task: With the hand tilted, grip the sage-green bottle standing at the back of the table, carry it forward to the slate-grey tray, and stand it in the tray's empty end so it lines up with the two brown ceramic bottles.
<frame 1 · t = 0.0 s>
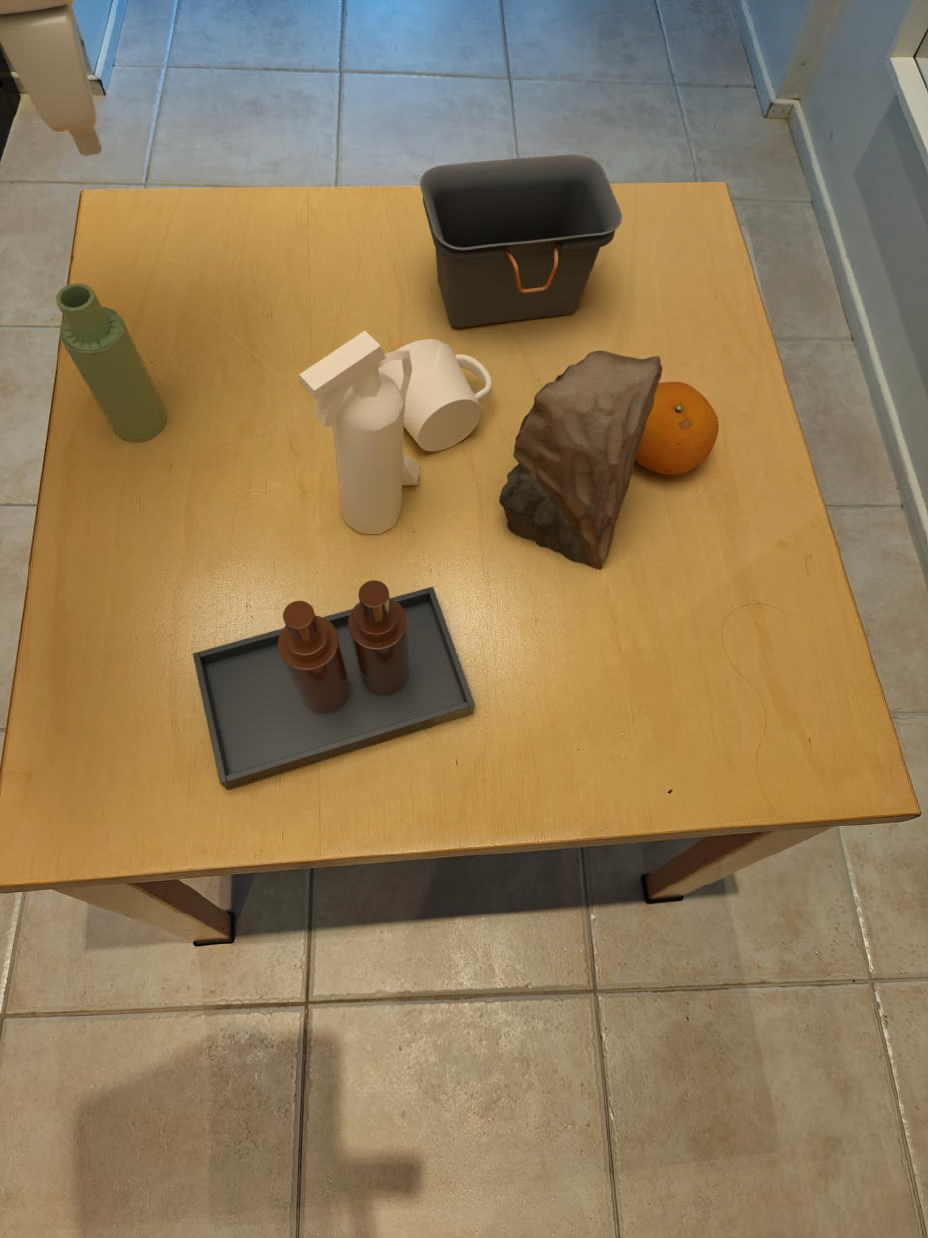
hand: (83, 113, 67), 29 cm above the table, tool pointing down, fingers open, 8 cm apart
green bottle: (139, 420, 89), on the table
tray: (336, 688, 77), on the table
brown rock chunk: (566, 523, 86), on the table
mug: (439, 416, 92), on the table
bottle row: (335, 686, 76), resting on tray
fruit: (659, 450, 91), on the table
fire extinguisher: (380, 507, 86), on the table
storage bin: (510, 305, 99), on the table
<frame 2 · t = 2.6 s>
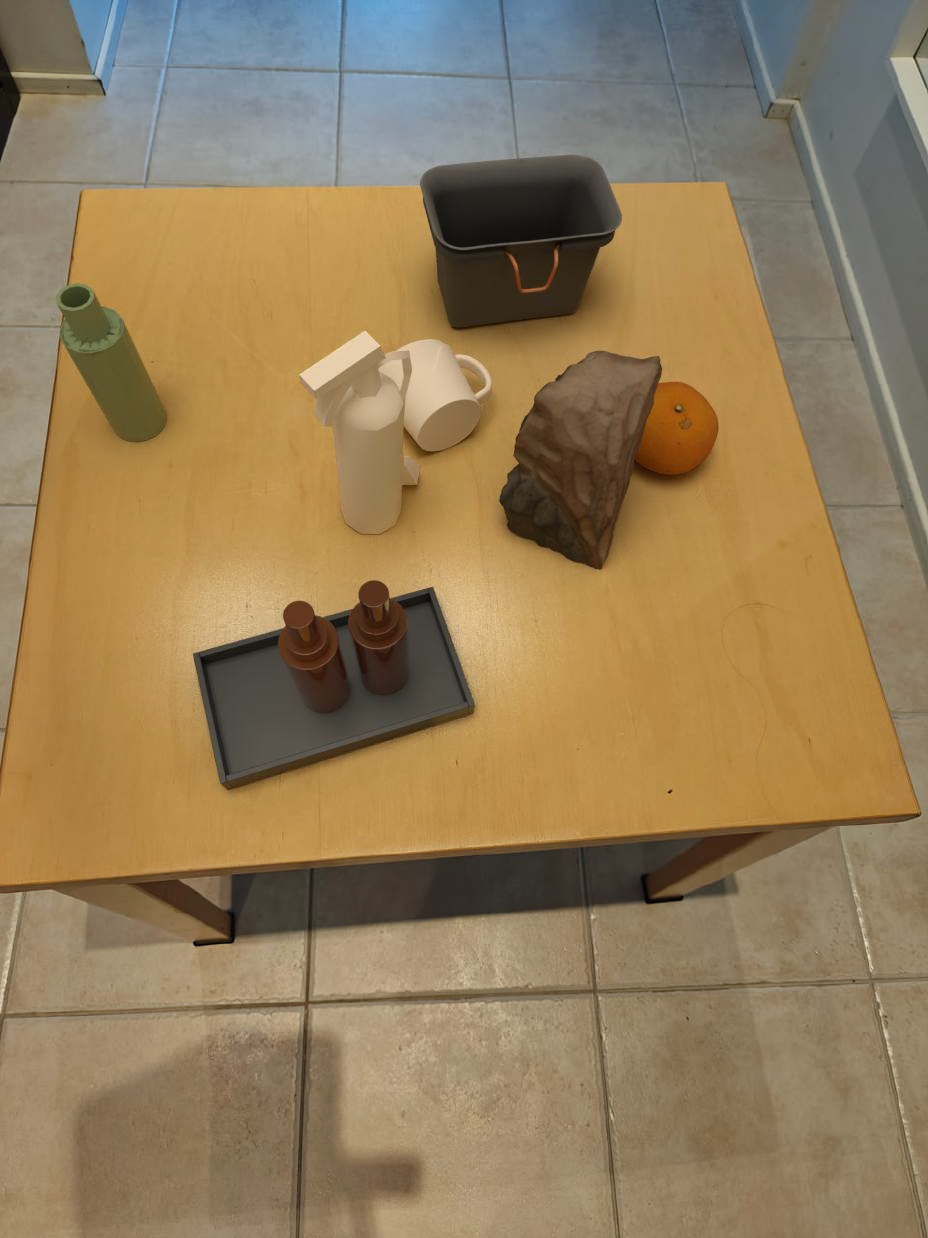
nothing on the table moved.
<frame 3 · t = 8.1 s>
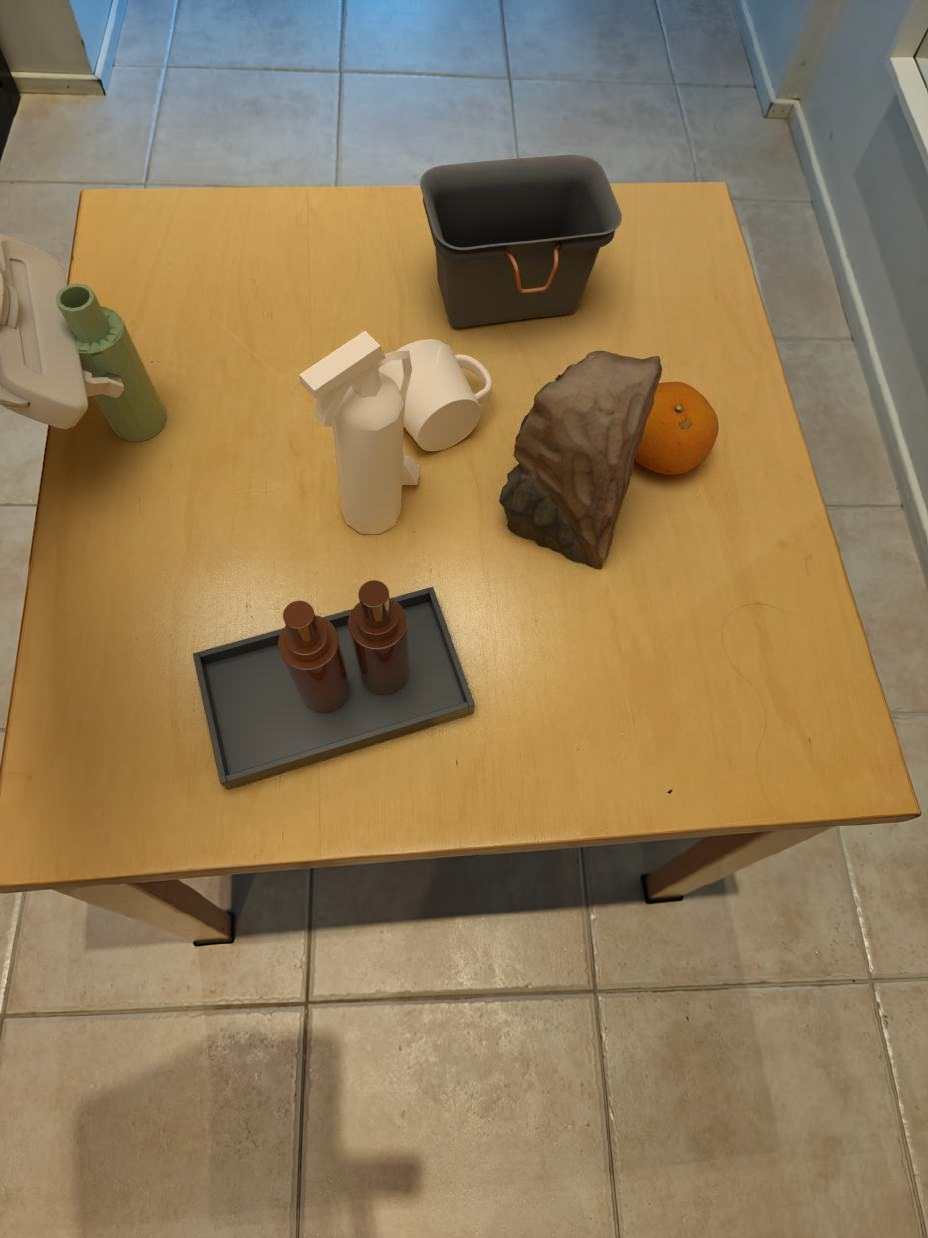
hand: (115, 360, 81), 9 cm above the table, tool tilted 45°, fingers closed on green bottle, 6 cm apart
green bottle: (139, 420, 89), on the table, touching gripper
everything else where it was.
when the fingers open (10 cm above the table, at t = 22.3 s): green bottle stays where it is, resting on tray.
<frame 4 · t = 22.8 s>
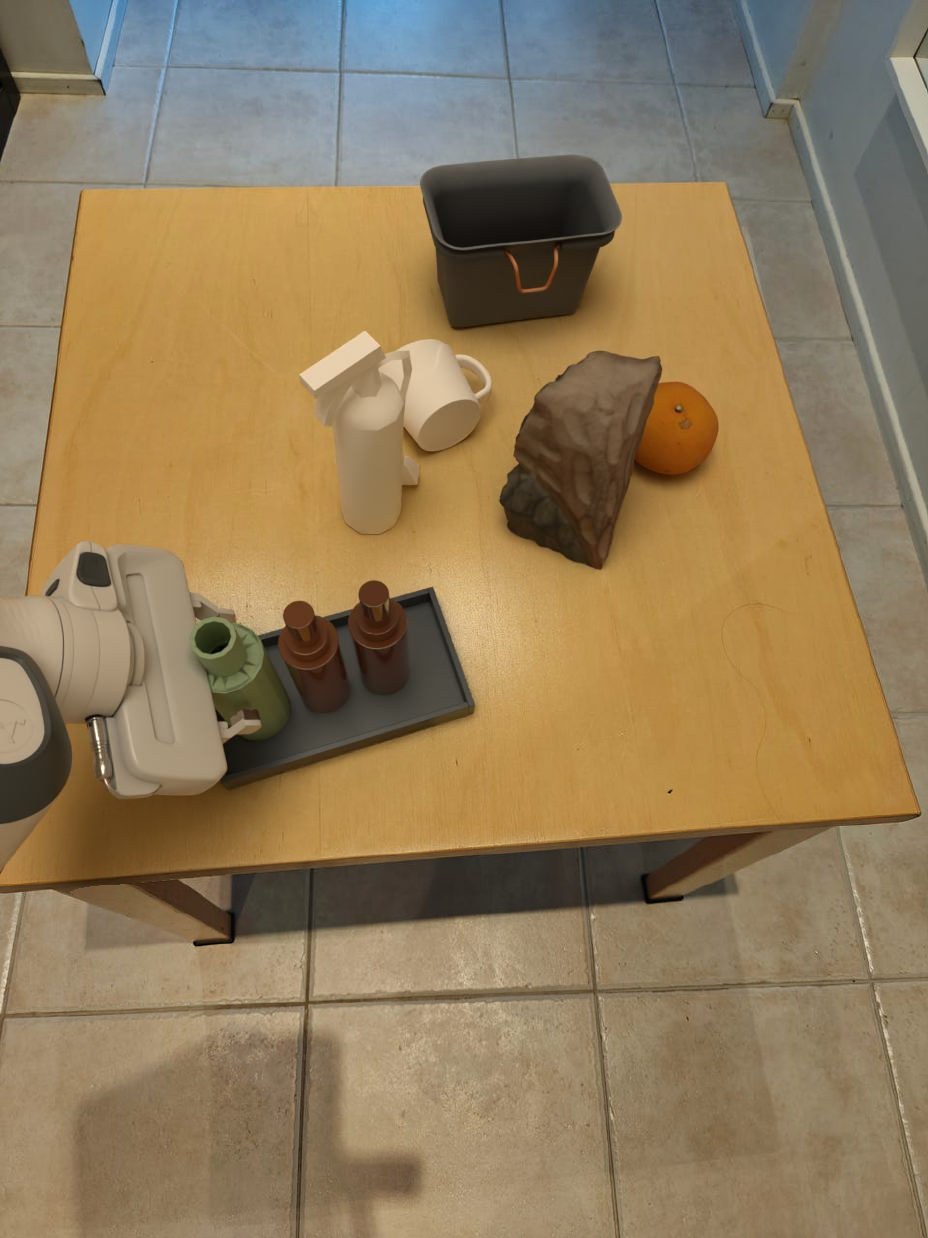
hand: (244, 670, 66), 11 cm above the table, tool tilted 45°, fingers open, 8 cm apart
green bottle: (259, 710, 75), point 1 cm above the table, touching tray
everything else where it was.
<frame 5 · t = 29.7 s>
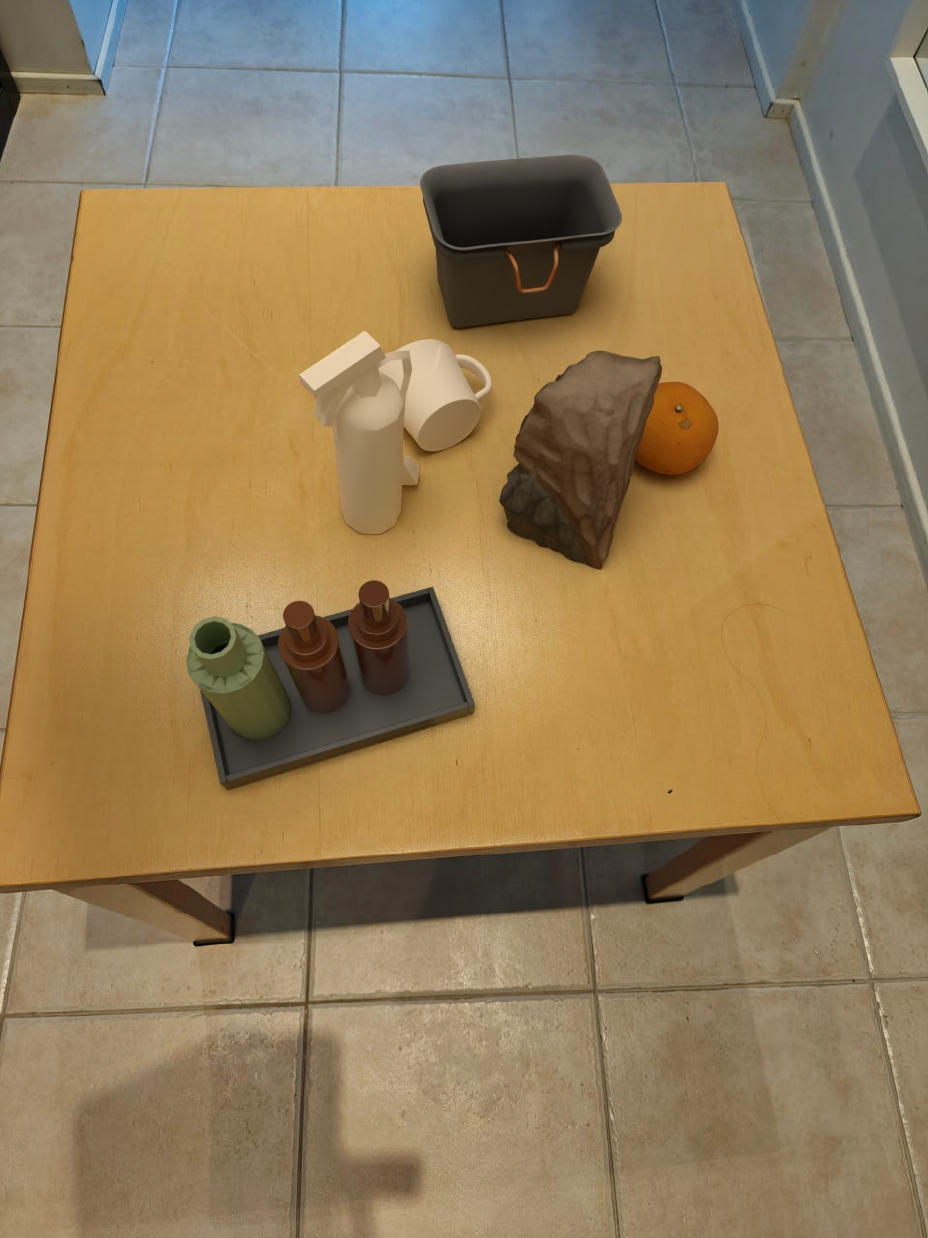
nothing on the table moved.
at the end: green bottle 0.2 cm from the target spot in the tray, point 0.8 cm above the tray's base; green bottle tilted 0°; the gripper is holding nothing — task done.
